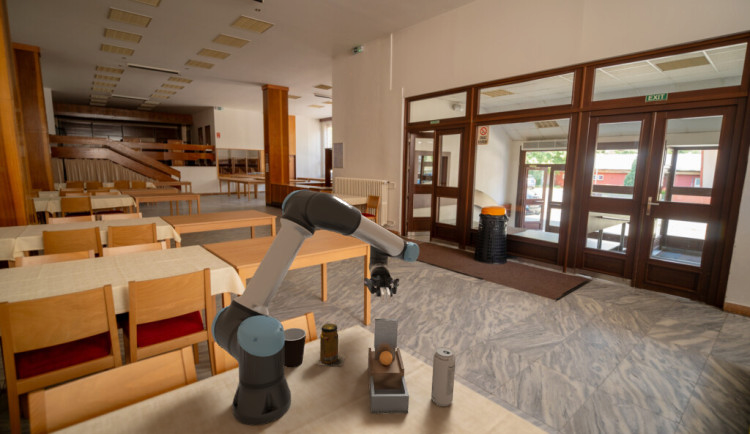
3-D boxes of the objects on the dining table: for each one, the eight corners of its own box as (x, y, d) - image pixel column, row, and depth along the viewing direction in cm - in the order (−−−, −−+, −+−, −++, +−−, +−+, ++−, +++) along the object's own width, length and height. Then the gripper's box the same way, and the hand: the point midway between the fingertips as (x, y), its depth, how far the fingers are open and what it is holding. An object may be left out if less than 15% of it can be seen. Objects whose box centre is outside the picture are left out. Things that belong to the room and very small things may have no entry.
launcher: (369, 391, 101) (370, 369, 100) (367, 368, 113) (368, 347, 112) (403, 391, 102) (404, 368, 101) (398, 368, 114) (399, 347, 113)
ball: (378, 366, 104) (378, 354, 103) (380, 359, 108) (380, 347, 107) (391, 368, 103) (391, 356, 102) (393, 361, 107) (393, 349, 106)
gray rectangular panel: (373, 358, 107) (375, 320, 106) (373, 356, 109) (374, 318, 107) (396, 358, 108) (397, 320, 106) (395, 356, 109) (397, 318, 107)
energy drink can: (436, 391, 103) (439, 343, 101) (455, 399, 99) (459, 350, 97) (427, 401, 98) (430, 352, 96) (447, 410, 94) (450, 359, 92)
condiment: (321, 353, 121) (321, 321, 119) (345, 355, 121) (346, 322, 119) (316, 365, 114) (317, 331, 112) (342, 366, 114) (343, 332, 112)
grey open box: (371, 413, 92) (371, 396, 92) (369, 391, 101) (370, 376, 101) (408, 412, 93) (409, 395, 92) (403, 391, 102) (404, 375, 101)
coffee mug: (299, 371, 110) (299, 342, 109) (274, 367, 112) (274, 338, 110) (313, 352, 122) (313, 325, 120) (290, 349, 123) (290, 322, 122)
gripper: (398, 285, 134) (407, 309, 111) (361, 284, 133) (363, 309, 110) (399, 266, 133) (408, 287, 110) (361, 265, 132) (363, 287, 109)
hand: (385, 298), depth 110 cm, fingers closed
